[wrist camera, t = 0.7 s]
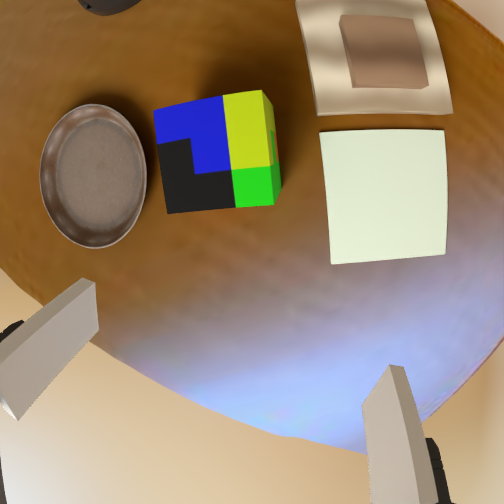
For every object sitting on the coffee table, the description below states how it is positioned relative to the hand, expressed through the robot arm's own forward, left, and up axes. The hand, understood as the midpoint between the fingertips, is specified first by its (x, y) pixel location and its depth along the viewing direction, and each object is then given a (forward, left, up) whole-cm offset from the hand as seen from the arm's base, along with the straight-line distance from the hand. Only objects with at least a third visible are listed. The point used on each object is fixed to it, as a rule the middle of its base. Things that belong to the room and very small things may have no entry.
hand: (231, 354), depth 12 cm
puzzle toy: (-8, -4, -26) cm, 28 cm away
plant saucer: (-9, -25, -26) cm, 37 cm away
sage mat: (-1, +14, -26) cm, 29 cm away
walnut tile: (-18, +14, -22) cm, 31 cm away
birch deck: (-19, +14, -26) cm, 35 cm away
